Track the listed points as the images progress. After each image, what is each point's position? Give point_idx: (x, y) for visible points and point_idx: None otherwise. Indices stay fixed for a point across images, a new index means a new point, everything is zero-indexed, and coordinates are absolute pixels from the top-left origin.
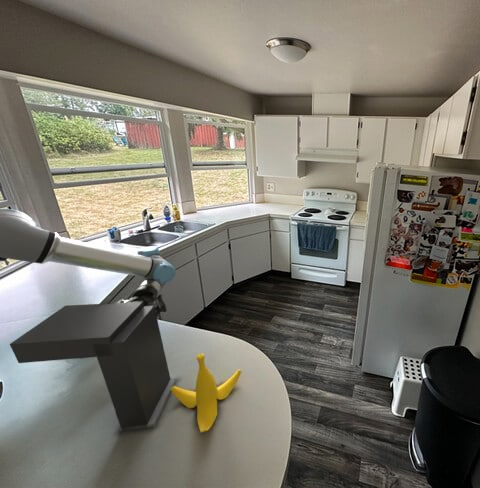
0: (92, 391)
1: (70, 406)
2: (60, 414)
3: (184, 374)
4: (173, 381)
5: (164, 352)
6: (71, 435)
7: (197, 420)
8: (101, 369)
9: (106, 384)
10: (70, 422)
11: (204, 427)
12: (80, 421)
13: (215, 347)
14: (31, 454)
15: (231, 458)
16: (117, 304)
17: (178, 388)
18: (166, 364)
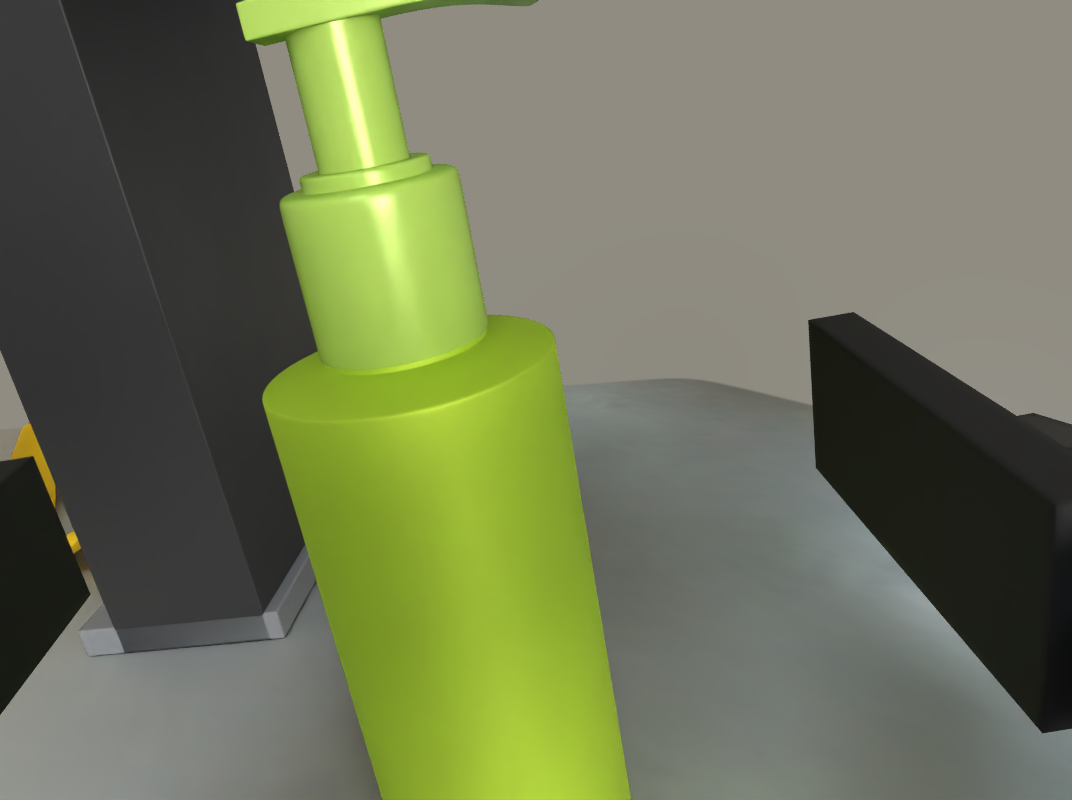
0: (669, 590)
1: (726, 522)
2: (739, 495)
3: (15, 702)
4: (98, 609)
5: (13, 379)
6: (583, 451)
7: (54, 506)
8: (260, 68)
9: (286, 169)
10: (639, 477)
11: (29, 439)
12: (590, 482)
13: None
14: (690, 411)
15: (3, 453)
16: None
17: (73, 536)
18: (64, 485)
